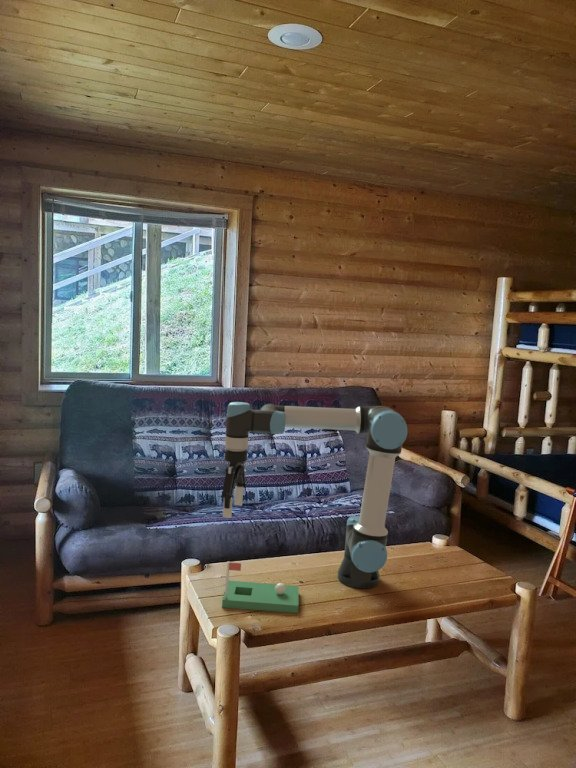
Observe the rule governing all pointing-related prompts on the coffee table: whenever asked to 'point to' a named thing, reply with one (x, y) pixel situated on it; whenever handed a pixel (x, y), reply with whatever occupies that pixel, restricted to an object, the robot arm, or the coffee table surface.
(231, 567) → the pin
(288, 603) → the green
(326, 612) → the coffee table surface
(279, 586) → the ball
